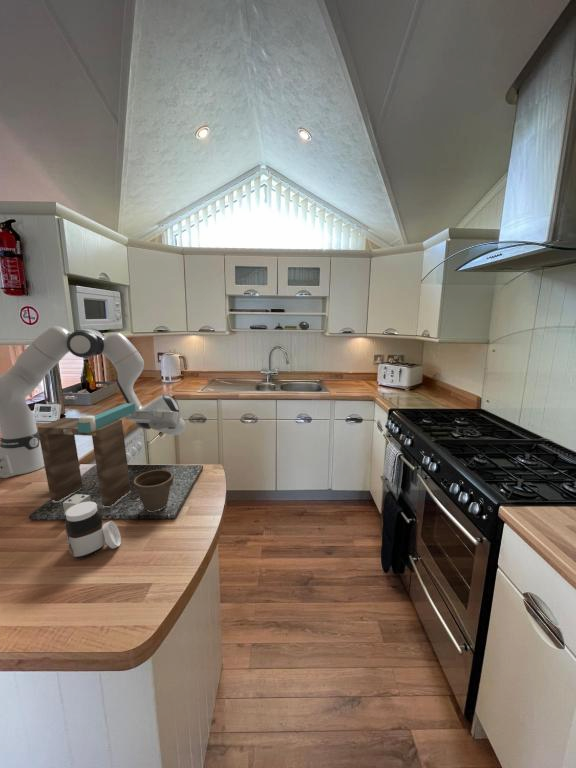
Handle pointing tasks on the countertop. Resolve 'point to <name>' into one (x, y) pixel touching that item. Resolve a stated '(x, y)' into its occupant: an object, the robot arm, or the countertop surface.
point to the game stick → (104, 418)
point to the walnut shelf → (65, 462)
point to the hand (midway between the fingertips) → (140, 412)
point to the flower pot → (154, 488)
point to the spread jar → (88, 531)
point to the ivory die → (75, 501)
